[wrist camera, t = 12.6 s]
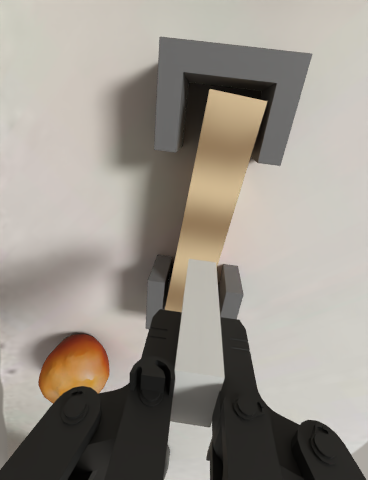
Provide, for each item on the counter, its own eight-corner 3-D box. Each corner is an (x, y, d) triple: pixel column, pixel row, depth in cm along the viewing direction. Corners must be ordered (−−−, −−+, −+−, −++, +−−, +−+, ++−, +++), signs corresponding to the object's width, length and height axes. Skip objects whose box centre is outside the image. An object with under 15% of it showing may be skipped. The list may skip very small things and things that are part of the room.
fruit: (31, 336, 31) (23, 390, 24) (93, 311, 33) (101, 353, 27) (55, 376, 34) (54, 432, 28) (109, 350, 37) (120, 396, 30)
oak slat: (202, 286, 27) (200, 319, 22) (171, 279, 27) (164, 311, 22) (253, 105, 19) (267, 101, 14) (209, 96, 19) (209, 88, 14)
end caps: (226, 309, 28) (229, 341, 24) (154, 298, 28) (145, 328, 24) (288, 69, 17) (312, 53, 13) (170, 55, 17) (159, 36, 13)
